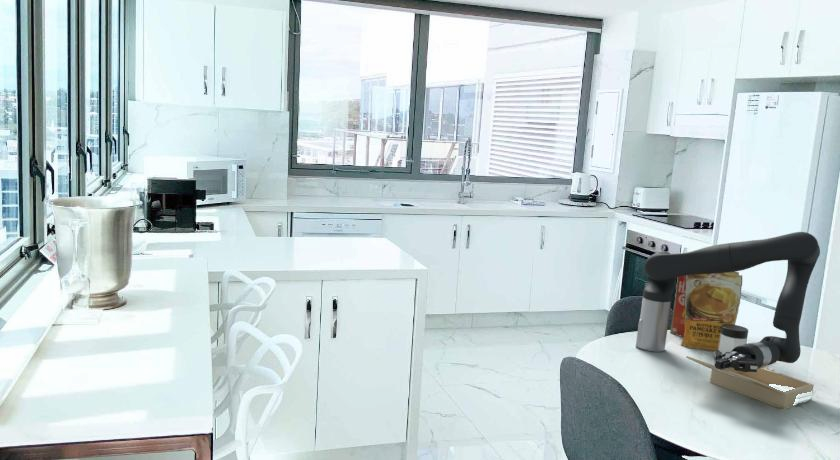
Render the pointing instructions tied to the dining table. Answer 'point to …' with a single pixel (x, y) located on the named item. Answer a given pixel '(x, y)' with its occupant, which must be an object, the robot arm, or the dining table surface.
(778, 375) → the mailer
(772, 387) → the lid
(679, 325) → the food packaging
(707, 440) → the dining table surface
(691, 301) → the pancake mix bag
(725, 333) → the jar
